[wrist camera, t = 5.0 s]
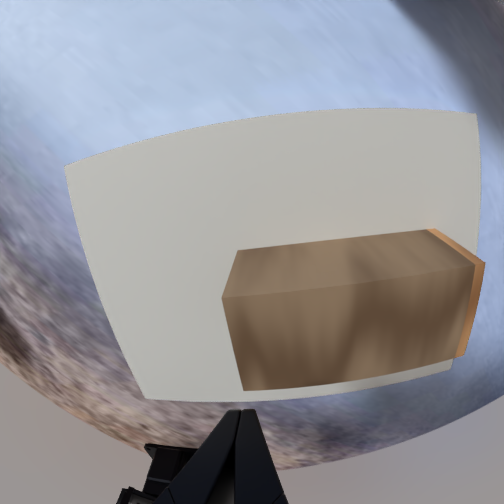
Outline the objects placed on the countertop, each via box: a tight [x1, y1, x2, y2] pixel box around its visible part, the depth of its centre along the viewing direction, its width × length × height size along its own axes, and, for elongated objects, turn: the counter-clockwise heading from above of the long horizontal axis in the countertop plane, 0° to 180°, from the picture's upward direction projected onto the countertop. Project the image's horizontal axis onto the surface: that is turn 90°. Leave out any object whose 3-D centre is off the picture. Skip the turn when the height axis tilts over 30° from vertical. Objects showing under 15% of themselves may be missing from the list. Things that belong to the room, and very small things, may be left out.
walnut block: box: [221, 228, 485, 391], centre depth 13 cm, size 5×5×11 cm
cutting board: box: [64, 108, 481, 402], centre depth 17 cm, size 18×24×1 cm
